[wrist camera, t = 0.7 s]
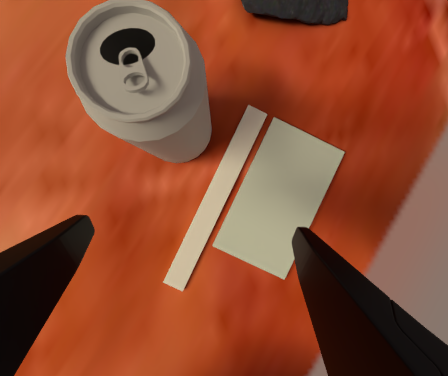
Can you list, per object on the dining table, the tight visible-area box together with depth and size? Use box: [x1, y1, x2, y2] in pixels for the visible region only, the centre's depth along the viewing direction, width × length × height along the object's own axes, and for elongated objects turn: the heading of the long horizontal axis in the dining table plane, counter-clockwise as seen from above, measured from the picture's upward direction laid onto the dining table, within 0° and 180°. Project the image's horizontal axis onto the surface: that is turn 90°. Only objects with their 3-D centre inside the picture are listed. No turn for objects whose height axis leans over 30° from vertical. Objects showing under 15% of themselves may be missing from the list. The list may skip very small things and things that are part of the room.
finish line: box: [163, 105, 267, 291], centre depth 21 cm, size 22×2×1 cm, turn 154°
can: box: [66, 0, 212, 163], centre depth 15 cm, size 8×8×12 cm
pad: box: [213, 117, 345, 280], centre depth 21 cm, size 16×9×1 cm, turn 154°
